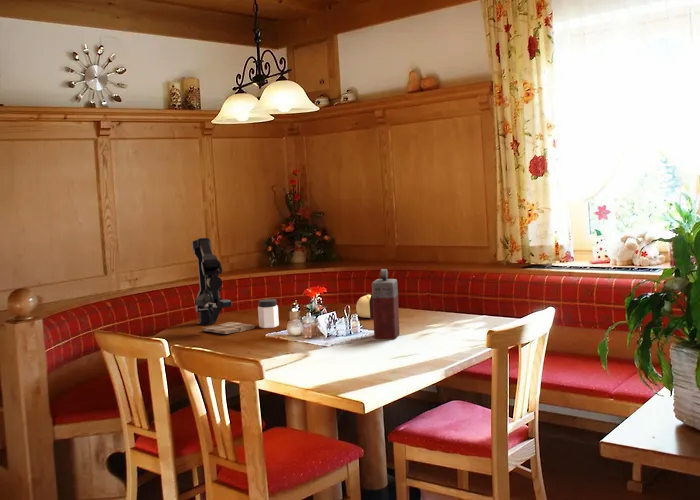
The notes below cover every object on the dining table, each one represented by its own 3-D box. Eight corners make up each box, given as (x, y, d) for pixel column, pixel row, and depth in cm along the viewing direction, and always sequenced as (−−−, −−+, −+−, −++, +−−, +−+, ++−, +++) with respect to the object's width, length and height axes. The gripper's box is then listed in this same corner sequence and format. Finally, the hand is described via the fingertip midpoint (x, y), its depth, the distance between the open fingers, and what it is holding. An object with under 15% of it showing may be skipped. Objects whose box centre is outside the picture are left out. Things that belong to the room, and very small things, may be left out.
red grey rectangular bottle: (373, 333, 323) (370, 267, 320) (399, 334, 320) (396, 267, 317) (368, 338, 314) (365, 270, 311) (395, 339, 311) (392, 270, 308)
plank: (201, 330, 344) (201, 327, 344) (215, 328, 351) (215, 325, 350) (225, 334, 334) (225, 331, 334) (239, 331, 340) (239, 328, 340)
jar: (282, 325, 349) (280, 299, 348) (267, 329, 344) (265, 302, 343) (271, 323, 356) (269, 297, 355) (256, 326, 351) (254, 300, 349)
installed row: (216, 328, 351) (216, 325, 351) (231, 324, 358) (231, 321, 357) (240, 331, 341) (239, 328, 340) (254, 328, 347) (254, 324, 347)
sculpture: (382, 319, 353) (381, 295, 352) (356, 320, 354) (355, 297, 352) (382, 314, 365) (381, 291, 364) (356, 315, 365) (355, 293, 364)
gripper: (184, 288, 338) (186, 323, 339) (211, 291, 326) (214, 327, 327) (204, 284, 346) (206, 318, 348) (231, 287, 334) (233, 322, 336)
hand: (214, 321), depth 339 cm, fingers closed
